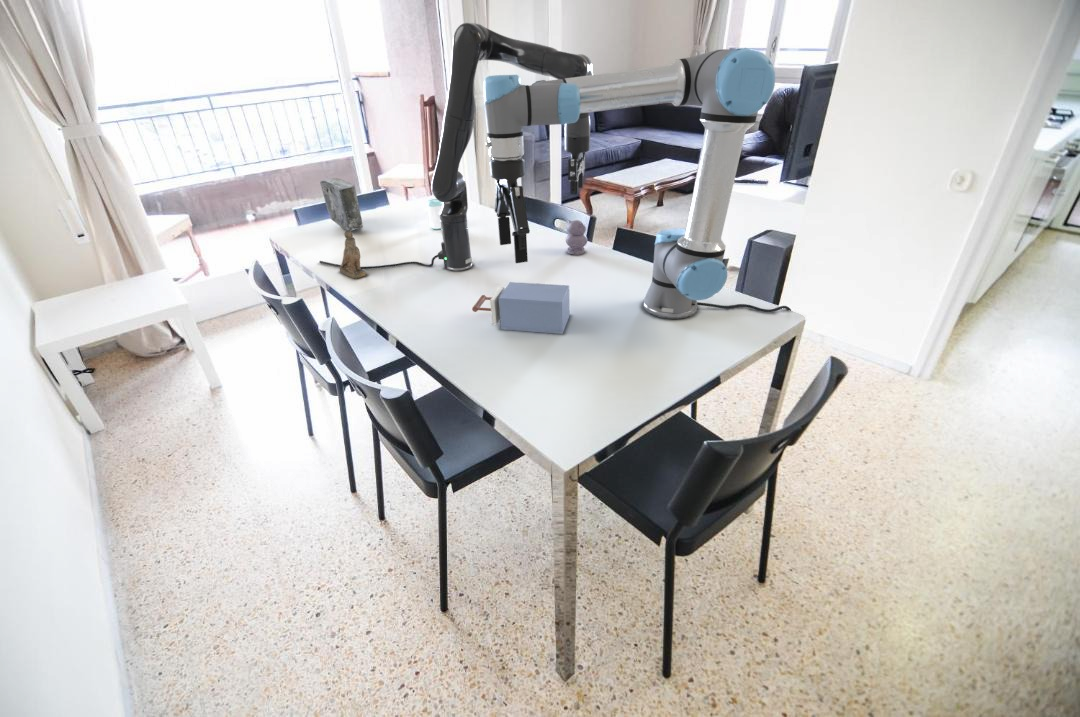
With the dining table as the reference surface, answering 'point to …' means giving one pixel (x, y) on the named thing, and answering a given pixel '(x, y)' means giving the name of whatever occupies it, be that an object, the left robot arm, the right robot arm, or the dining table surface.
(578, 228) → the lavender rounded piece
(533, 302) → the cabinet
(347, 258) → the worn brown figurine
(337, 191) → the concrete block
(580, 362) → the dining table surface
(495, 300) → the drawer
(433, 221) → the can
